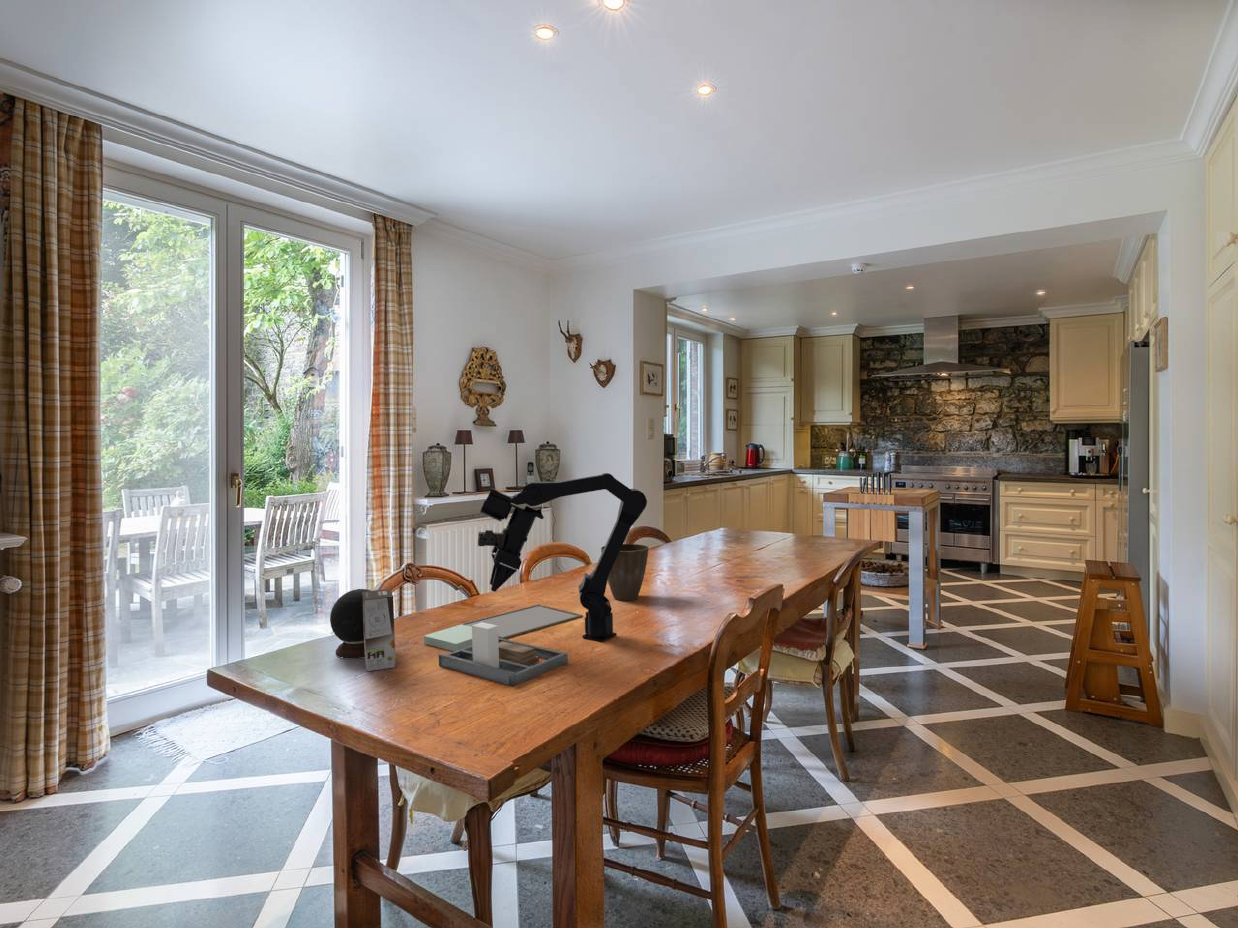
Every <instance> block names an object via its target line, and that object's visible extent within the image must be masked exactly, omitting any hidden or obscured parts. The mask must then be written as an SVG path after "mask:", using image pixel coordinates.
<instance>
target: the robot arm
mask: <svg viewBox="0 0 1238 928" xmlns="http://www.w3.org/2000/svg"><path fill="white" fill-rule="evenodd" d="M603 490H605V491H607V492H609V493H610V494H612V495H613V496H614V497H616V498H617V499H618V500H620V504H619V508H618V512H617V518H616V522H615V523H614V525H613V527H612V529H611V532H610V535H609V537H608V539H607V541H606V543H605V545H604V546H605V547H604V549H603V552H601V554H600V556H599V558H598V560H597V563H596V565H595V568H594V569H593V570H592V572H591V573H590V574H588V573H587V572H584V575H583V579H582V581H581V583H580V584H579V585H578V593H579V601H580V602H579V603H580V604H581V606H582V608H584V609H586V610H587V611H586V612H585V617H584V633H585V634H582V635H581V637H582V638H584V639H589V640H594V641H598V642H604V641H606V640H609V639H611V638H614V637H616V636H617V632H614V622H613V621H614V620H613V618H614V617H613V615H614V614H613V612H612V609H613V608H612V606H611V605H612V604H611V601H610V599H608V598H607V597H606V596H605V594H606V590H607V585H608V576H609V574H610V572H611V570H612V567H613V565H614V563H615V561H616V559H617V556H618V554H619V552H620V550H621V548H622V545H623V544H625V541H626V539H627V537H628V534H629V532H630V530H631V528H632V527H633V525H634V524H635V523H636V521H637V520H638V519H639V518H640V516H641V515H642V514H643V512H644V510H645V509H646V507H647V505H648V500H647V496H646V495H645V494H644V492H642V491H640V490H639V489H637V488H630V487H628V486H626V485H625V484H624V483H623V482H620V480H618V479H617V478H615V476H614V475H612V474H611V473H609V472H604V473H601V474H597V475H592V476H585V477H580V478H573V479H569V480H562V481H538V480H537V481H536V480H535V481H534V480H533V481H530V482H527V484H525V485H524V487H523V488H522V490H521V491H520V492H518V493H517V494H514V495H512V496H509V495H507V494H505V493H503V492H501V491H500V490H497V489H496V488H491V489H490V490H489V491H490V492H489V494H488V495H487V497H486V499H485V500H484V502H483V503H482V506H481V509H480V510H479V511H480V512H479V513H480V514H481V515H484V516H487V517H489V518H491V519H493V520H496V521H498V522H502V520H506V521H507V520H508V522H507V525H506V526H505V528H502V531H501V532H495V531H493V530H492V529H491V530H490V529H486V530H485V531H478V532H477V533H478V534H477V535H478V536H477V537H478V538H477V546H478V547H487V546H488V547H493V548H492V549H491V555H490V556H491V557H492V560H493V567H492V571H491V576H490V579H489V585H491V589H490V590H491V591H492V592H497V591H498V589H500V587H502V586H503V585H504V584H505V583H506V582H507V581H508V580H509V579H510V578H511V577H512V576H513V575H514V574H515V573H517V571H519V569H520V567H521V565H522V560H521V558H520V557H521V554H522V553H521V551H522V550H523V547H524V545H525V543H527V541H528V539H529V538H528V536H529V533H530V532H531V529H532V527H533V525H534V523H535V521H536V518H538V519H540V520H544V518H545V517H544V515H543V512H542V508H540V507H539V509H535V508H533V507H537V506H539V505H543V504H545V503H548V502H551V501H553V500H555V499H559V498H561V497H567V496H573V495H574V496H575V495H579V494H585V493H591V492H596V491H603ZM525 504H526V505H525ZM519 505H525V507H524V508H522V507H520V506H519ZM513 508H514V509H513ZM512 509H513V511H512ZM511 511H512V514H511V516H510V518H509V515H510V513H511ZM508 518H509V519H508Z"/></svg>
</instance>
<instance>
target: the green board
mask: <svg viewBox="0 0 1238 928" xmlns="http://www.w3.org/2000/svg"><path fill="white" fill-rule="evenodd" d="M460 624H461V625H459V624H457V625H456V626H451V627H448V628H446V629H442V630H441V629H440V630H438V631H435V632H432V633H428V634H425V635H423V644H424V645H427V646H430V647H431V646H432V647H435V648H439V649H443V650H447V651H452V652H454V651H457V650H460V649H462V648H465V647H468V646H471V645H472V627H471V626H466V625H462V623H460Z"/></svg>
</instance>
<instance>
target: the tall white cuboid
mask: <svg viewBox="0 0 1238 928" xmlns="http://www.w3.org/2000/svg"><path fill="white" fill-rule="evenodd" d="M472 649H473V662H477V663H481V664H484V665H488V666H492V667H496V668H499V643H498V626H497V625H493V624H488V623H483V622H481V623H478V624H475V625H472Z"/></svg>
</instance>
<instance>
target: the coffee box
mask: <svg viewBox="0 0 1238 928" xmlns="http://www.w3.org/2000/svg"><path fill="white" fill-rule="evenodd" d="M394 607H395V605H394V595H393V593H392V590H391V588H385V589H376V590H375V589H374V590H371V591H367V592H363V625H364V649H365V658H364V662H365V663H364V664H365V670H366V672H372V671H373V672H374V671H379V670H387V669H394V668H396V643H395V641H396V640H395V639H396V637H395V608H394Z"/></svg>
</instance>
